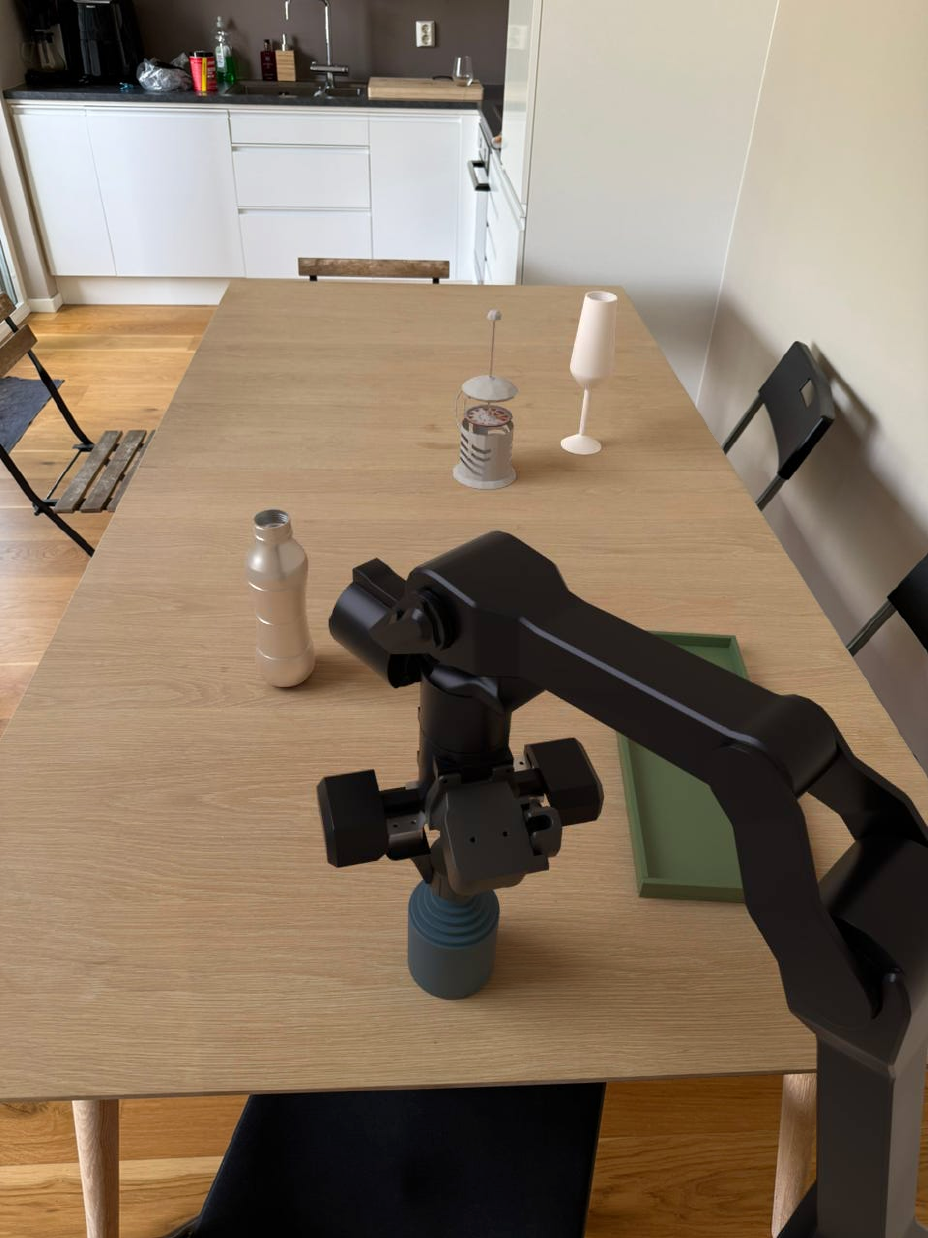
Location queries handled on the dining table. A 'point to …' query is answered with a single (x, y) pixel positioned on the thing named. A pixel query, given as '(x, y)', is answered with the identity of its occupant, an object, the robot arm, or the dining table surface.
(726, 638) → the tray
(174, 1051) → the dining table surface
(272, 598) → the plastic bottle
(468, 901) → the flask
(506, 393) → the french press
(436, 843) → the flask cap
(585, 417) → the champagne flute
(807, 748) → the robot arm
